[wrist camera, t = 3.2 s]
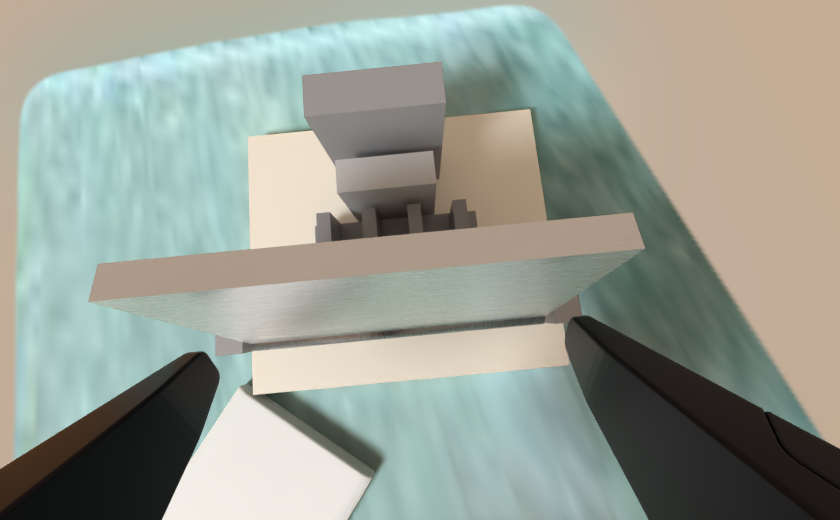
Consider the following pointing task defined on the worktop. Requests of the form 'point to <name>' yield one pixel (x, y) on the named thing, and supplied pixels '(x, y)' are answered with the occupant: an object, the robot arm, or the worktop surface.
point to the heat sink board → (395, 214)
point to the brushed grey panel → (375, 282)
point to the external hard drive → (267, 469)
